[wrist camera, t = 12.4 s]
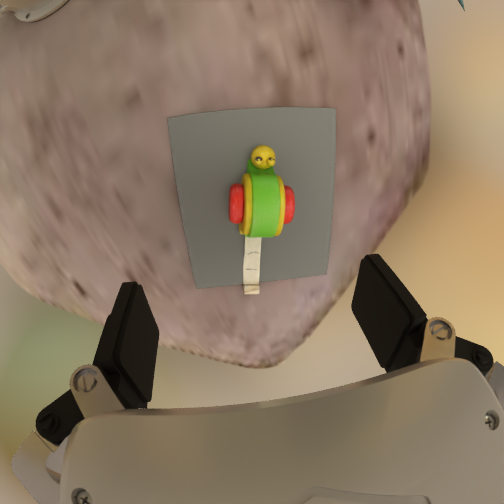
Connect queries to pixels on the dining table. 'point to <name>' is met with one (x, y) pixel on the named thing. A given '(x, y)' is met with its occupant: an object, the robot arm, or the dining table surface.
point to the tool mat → (231, 171)
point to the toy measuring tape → (259, 210)
